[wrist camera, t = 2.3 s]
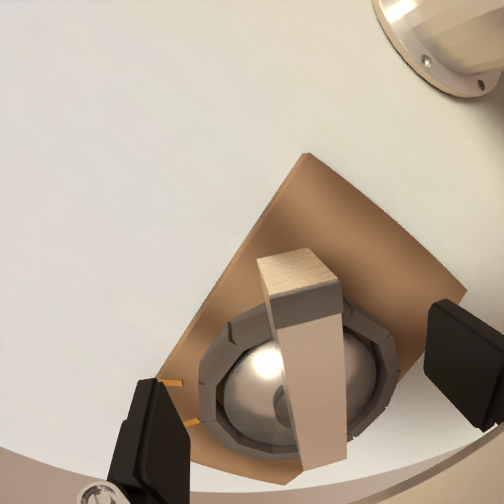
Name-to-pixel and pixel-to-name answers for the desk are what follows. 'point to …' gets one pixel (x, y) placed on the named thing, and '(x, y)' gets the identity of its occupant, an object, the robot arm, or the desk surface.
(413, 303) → the dial base
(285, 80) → the desk surface
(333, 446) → the dial
